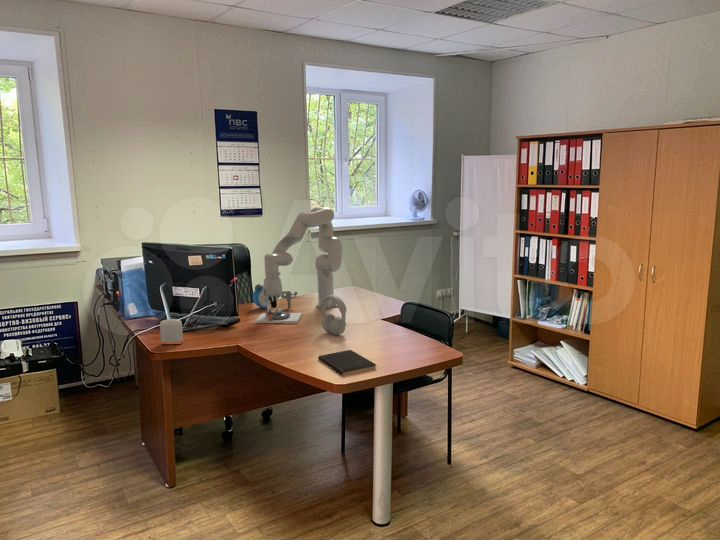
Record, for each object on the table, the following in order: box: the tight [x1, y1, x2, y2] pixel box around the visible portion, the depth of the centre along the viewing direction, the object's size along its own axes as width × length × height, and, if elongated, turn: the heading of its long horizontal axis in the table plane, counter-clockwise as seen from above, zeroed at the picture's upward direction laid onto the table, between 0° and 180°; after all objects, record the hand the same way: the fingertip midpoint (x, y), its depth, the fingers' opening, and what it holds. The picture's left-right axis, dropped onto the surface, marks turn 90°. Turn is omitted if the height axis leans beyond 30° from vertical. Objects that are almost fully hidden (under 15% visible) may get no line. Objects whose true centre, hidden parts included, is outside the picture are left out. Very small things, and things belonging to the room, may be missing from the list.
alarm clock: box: [252, 283, 271, 310], centre depth 333 cm, size 13×6×15 cm, turn 125°
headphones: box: [320, 294, 347, 336], centre depth 275 cm, size 18×8×20 cm, turn 39°
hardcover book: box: [317, 349, 378, 377], centre depth 233 cm, size 16×23×2 cm
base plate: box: [254, 312, 303, 325], centre depth 306 cm, size 23×17×4 cm
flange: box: [265, 304, 291, 319], centre depth 307 cm, size 15×12×6 cm
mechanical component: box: [280, 290, 298, 309], centre depth 332 cm, size 3×10×10 cm, turn 89°
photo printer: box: [159, 318, 184, 343], centre depth 265 cm, size 10×4×12 cm, turn 94°
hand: (273, 307), depth 312 cm, fingers closed
